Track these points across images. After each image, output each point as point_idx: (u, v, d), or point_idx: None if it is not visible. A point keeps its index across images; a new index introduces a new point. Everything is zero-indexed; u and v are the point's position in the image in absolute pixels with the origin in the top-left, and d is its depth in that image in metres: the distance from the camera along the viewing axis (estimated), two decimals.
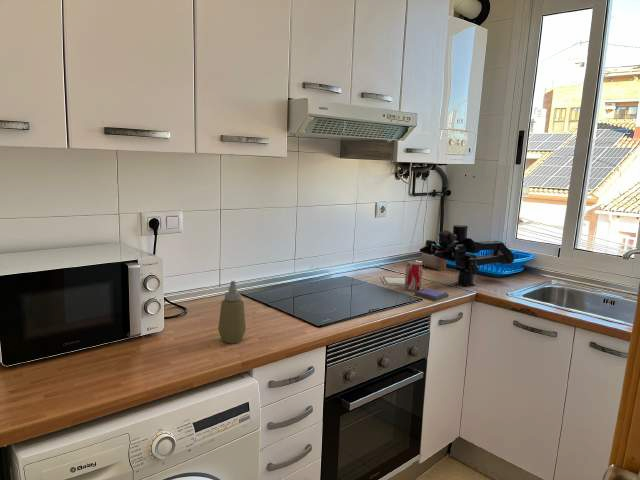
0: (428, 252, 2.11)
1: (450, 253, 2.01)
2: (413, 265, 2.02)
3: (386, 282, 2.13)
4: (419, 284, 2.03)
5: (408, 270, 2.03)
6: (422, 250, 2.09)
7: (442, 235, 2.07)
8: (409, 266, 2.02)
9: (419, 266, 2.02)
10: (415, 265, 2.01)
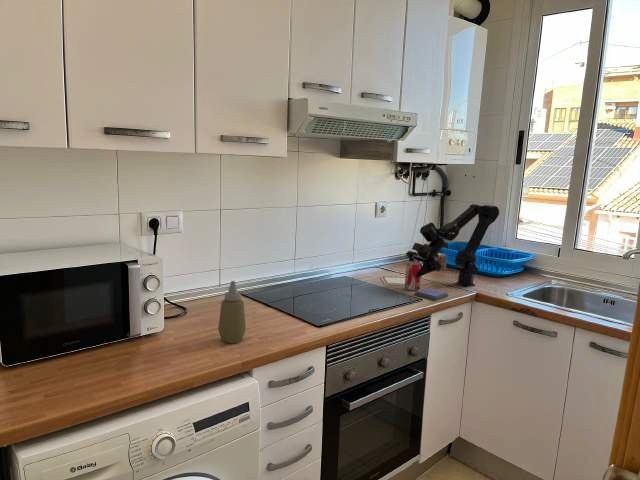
0: None
1: (429, 266, 2.00)
2: (413, 265, 2.02)
3: (386, 282, 2.13)
4: (419, 284, 2.03)
5: (408, 270, 2.03)
6: None
7: (415, 249, 2.04)
8: (409, 266, 2.02)
9: (419, 266, 2.02)
10: (415, 265, 2.01)
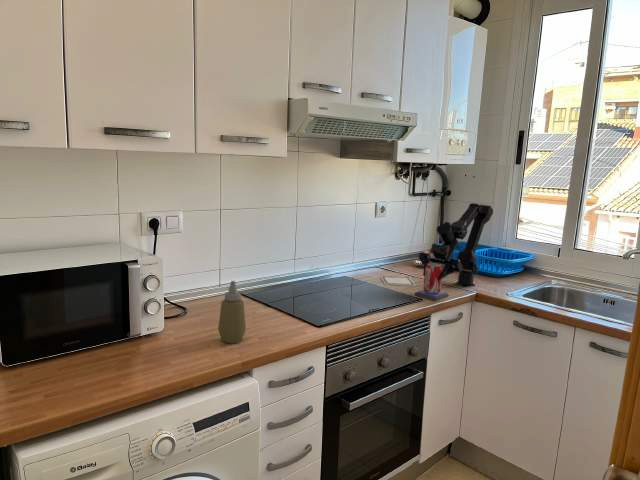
0: None
1: (451, 268, 1.93)
2: (435, 267, 1.92)
3: (386, 282, 2.13)
4: (440, 286, 1.95)
5: (430, 273, 1.93)
6: None
7: (434, 251, 1.94)
8: (431, 268, 1.93)
9: (440, 267, 1.93)
10: (437, 267, 1.92)
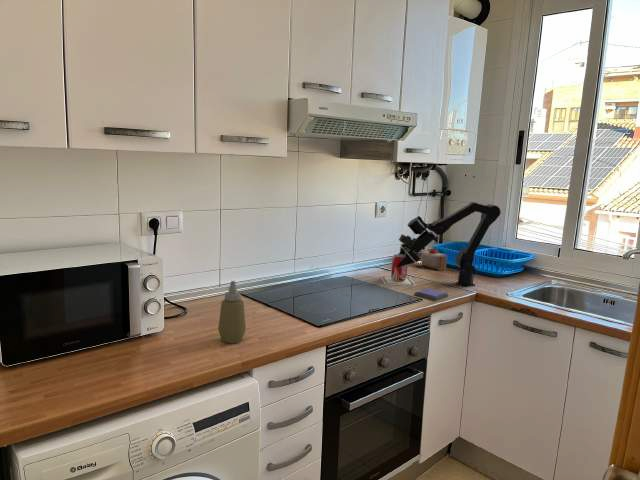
0: None
1: (409, 257, 2.09)
2: (396, 257, 2.15)
3: (386, 282, 2.13)
4: (402, 276, 2.15)
5: (392, 261, 2.16)
6: None
7: None
8: (393, 258, 2.16)
9: (402, 258, 2.14)
10: (398, 257, 2.14)
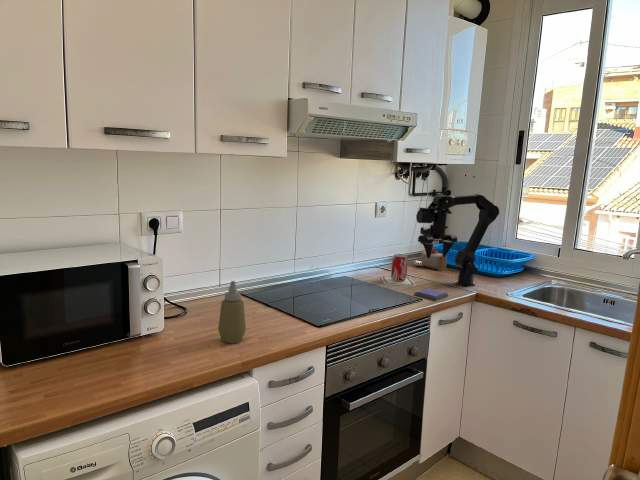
0: (447, 246, 2.13)
1: (424, 243, 2.08)
2: (396, 257, 2.15)
3: (386, 282, 2.13)
4: (402, 276, 2.15)
5: (392, 261, 2.16)
6: (443, 254, 2.14)
7: (428, 235, 2.17)
8: (393, 258, 2.16)
9: (401, 258, 2.14)
10: (397, 257, 2.14)
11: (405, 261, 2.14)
